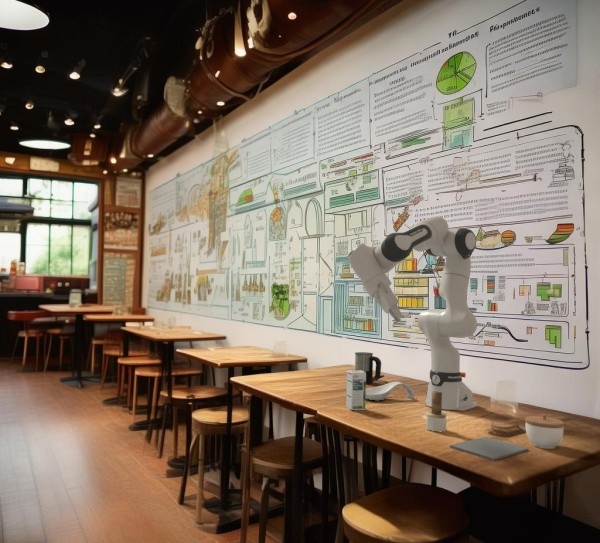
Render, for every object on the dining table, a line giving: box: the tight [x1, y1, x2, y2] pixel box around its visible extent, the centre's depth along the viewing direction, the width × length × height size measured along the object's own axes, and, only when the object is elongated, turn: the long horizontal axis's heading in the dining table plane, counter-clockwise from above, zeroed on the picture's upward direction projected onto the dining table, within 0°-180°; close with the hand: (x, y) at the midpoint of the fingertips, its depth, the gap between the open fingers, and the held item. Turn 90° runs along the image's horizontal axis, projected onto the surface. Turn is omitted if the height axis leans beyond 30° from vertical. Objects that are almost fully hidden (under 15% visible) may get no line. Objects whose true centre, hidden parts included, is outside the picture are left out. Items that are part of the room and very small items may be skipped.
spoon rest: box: [365, 381, 415, 402], centre depth 221 cm, size 24×12×7 cm, turn 111°
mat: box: [449, 436, 529, 461], centre depth 152 cm, size 18×14×1 cm
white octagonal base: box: [425, 415, 447, 432], centre depth 172 cm, size 6×6×4 cm
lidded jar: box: [524, 413, 565, 450], centre depth 158 cm, size 11×11×9 cm
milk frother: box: [354, 351, 385, 385], centre depth 265 cm, size 14×16×15 cm
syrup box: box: [345, 370, 367, 411], centre depth 199 cm, size 6×6×14 cm
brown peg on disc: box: [426, 391, 447, 419], centre depth 172 cm, size 6×6×8 cm
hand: (399, 319), depth 180 cm, fingers open, 8 cm apart
